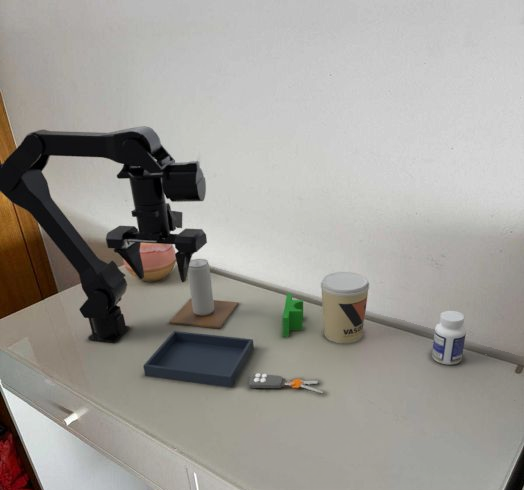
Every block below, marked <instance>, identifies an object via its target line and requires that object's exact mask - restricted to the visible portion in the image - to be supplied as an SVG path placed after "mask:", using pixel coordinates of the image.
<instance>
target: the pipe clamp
mask: <svg viewBox="0 0 524 490" xmlns="http://www.w3.org/2000/svg"><path fill="white" fill-rule="evenodd" d="M285 297H286V298H285V303H284V306H283V313H282V337H283V338H290V337H289V336H290V331H302V330H303V320H304V300H303V299H293V294H292V293H286V296H285Z"/></svg>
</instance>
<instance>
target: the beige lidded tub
mask: <svg viewBox="0 0 524 490" xmlns="http://www.w3.org/2000/svg"><path fill="white" fill-rule="evenodd" d="M320 289H321V304H322V305H321V307H322V320H323V332H324V333H323V334H324V336H325V338H326V339H328V340H329V341H331V342H333V343H337V344H352V343H355V342H357V341H359V340H360V339H361V338H362V336H363V332H364V326H365V318H366V310H367V303H368V295H369V289H370V282H369V279H368V278H367V277H366V276H365V275H363V274H362V273H358V272H353V271H336V272H332V273H328V274H326V275H325V276H324V277H323V278H322V279H321V282H320Z"/></svg>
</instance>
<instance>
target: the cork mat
mask: <svg viewBox="0 0 524 490" xmlns="http://www.w3.org/2000/svg"><path fill="white" fill-rule="evenodd" d="M213 303H214V311H213V312H212V313H211V314H209V315H206V316H199V315H196V314H195V313H194V312H193V306H192V299H191V298H190V299H189V300H188V301H187V302H186V303H185V305H183V307H182V308H180V310H179V311H178V312H177V313H176V314H175V315H174V316H173V317H172V318H171V319H170V321H169V324H172V325H179V326H187V327H190V326H191V327H200V328H209V329H219V330H221V328H222V327H223V326H224V324H225V323H226V321H227V320H228V319H229V317H230V316H231V315H232V313H233V312H234V310H235V309H236V308H237V307H238V305H239V302H238V301H228V300H227V301H226V300H217V299H216V300H215V299H213Z"/></svg>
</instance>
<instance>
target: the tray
mask: <svg viewBox="0 0 524 490" xmlns="http://www.w3.org/2000/svg"><path fill="white" fill-rule="evenodd" d="M254 348H255V347H254V339H253V338H244V337H235V336H227V335H215V334H207V333H198V332H188V331H179V330H173V331H172V332H171V333H170V335H169V336H168V337H167V338H166V339H165V340H164V341H163V342H162V344H161V345H160V346H159V347H158V348H157V350H155V351H154V353H152V355H151V356H150V357H149V358H148V360H147V361H146V362H145V363H144V364H143V366H142V367H143V370H144V371H143V372H144V376H145V377H150V378H159V379H164V380H165V379H166V380H173V381H181V382H186V383H187V382H188V383H195V384H203V385H210V386H216V387H217V386H218V387H224V388H232V387H233V386H234V384H235V383H236V381H237V379H238V377H239V376H240V374H241V372H242V370H243V368H244V367H245V365H246V364H247V362H248V360H249V358H250V356H251V355H252V353H253V351H254Z"/></svg>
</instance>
